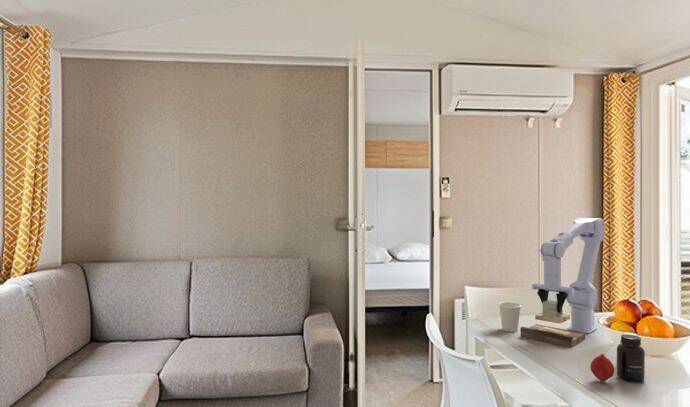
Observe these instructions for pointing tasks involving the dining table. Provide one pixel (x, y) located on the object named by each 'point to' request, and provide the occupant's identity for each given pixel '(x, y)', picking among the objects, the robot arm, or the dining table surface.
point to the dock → (552, 335)
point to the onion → (602, 368)
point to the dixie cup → (510, 316)
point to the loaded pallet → (556, 320)
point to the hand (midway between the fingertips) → (552, 311)
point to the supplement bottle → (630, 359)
